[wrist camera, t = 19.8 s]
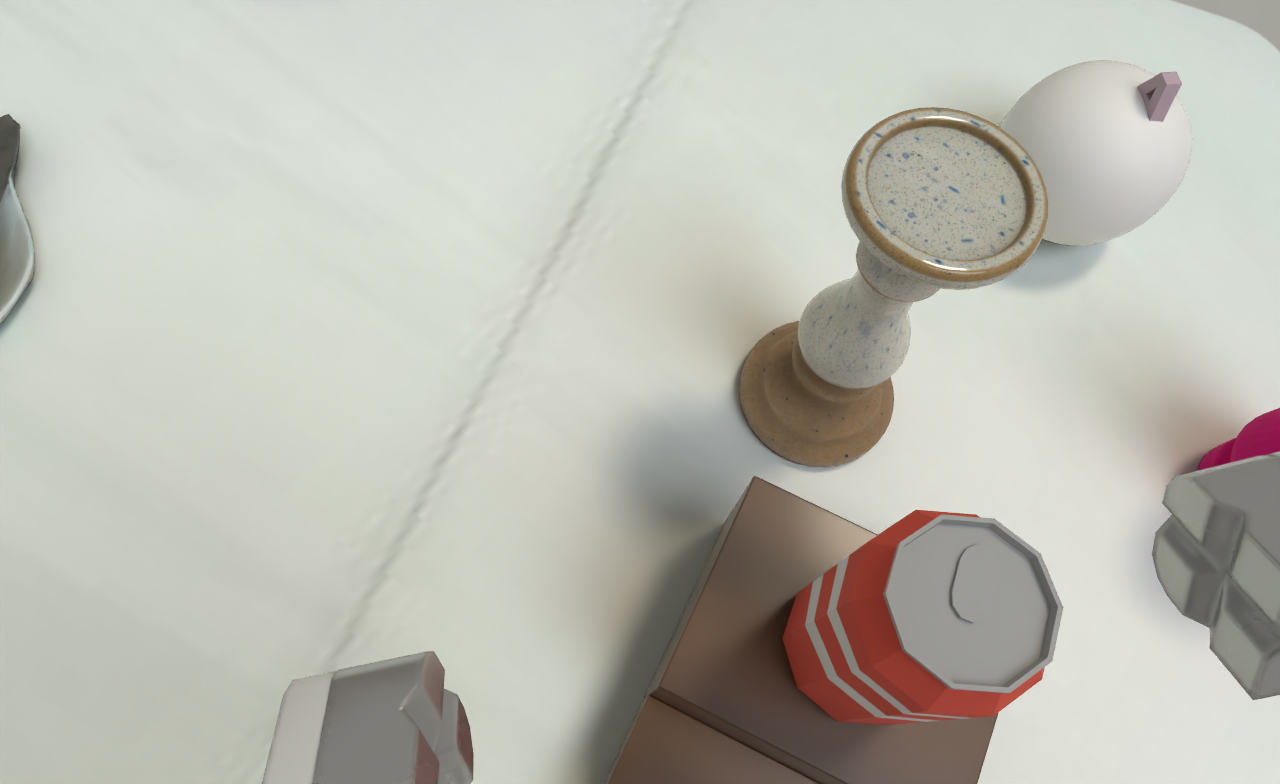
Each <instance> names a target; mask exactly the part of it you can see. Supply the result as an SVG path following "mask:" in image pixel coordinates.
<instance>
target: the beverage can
mask: <svg viewBox="0 0 1280 784" xmlns="http://www.w3.org/2000/svg"><path fill="white" fill-rule="evenodd" d="M1062 610H1063V606H1062V604H1061V601H1060V599H1059V596H1058V594H1057V592H1056V589H1055V587H1054V585H1053V582H1052V580H1051V577H1050V575H1049V573H1048V570H1047V568H1046V565H1045V563H1044V561H1043V558H1042V556H1041V554H1040V553H1039V552H1038V551H1036V550H1035V549H1034V548H1032V547H1031V546H1030V545H1029V544H1027V543H1026V542H1025V541H1023V540H1022V539H1021V538H1019V537H1018V536H1017V535H1015V534H1014V533H1013V532H1011V531H1010V530H1009V529H1007V528H1006V527H1005V526H1003V525H1002V524H1001V523H999V522H998V521H997V520H995V519H991V518H980V517H979V516H977V515H972V514H960V513H948V512H936V511H924V510H915V511H913V512H912V513H910V514H909V515H907V516H906V517H904V518H903V519H901V520H900V521H898V522H897V523H895V524H894V525H892V526H891V527H889V528H888V529H886V530H885V531H883V532H882V533H880V534H879V535H877V536H876V537H874V538H873V539H871V540H870V541H868V542H867V543H865V544H864V545H862V546H861V547H860V548H858V549H857V550H856V551H854V552H853V553H851V554H850V555H849V556H847V557H846V558H845V559H843V560H842V561H840V562H839V563H838V564H836V565H835V566H834V567H832V568H831V569H829V570H828V571H827V572H825V573H824V574H823V575H821V576H820V577H818V578H817V579H816V580H814V581H813V582H812V583H810V584H809V585H807V586H806V587H805V588H803V589H802V590H801V591H799V592H798V593H797V595H796V598H795V601H794V604H793V607H792V610H791V614H790V617H789V620H788V623H787V626H786V629H785V632H784V635H783V642H784V645H785V648H786V652H787V655H788V658H789V662H790V665H791V668H792V672H793V675H794V678H795V682H796V685H797V688H798V689H799V690H801V691H802V692H803V693H804V694H805V695H807V696H808V697H809V698H810V699H811V700H812V701H814V702H815V703H816V704H817V705H818V706H820V707H821V708H822V709H823V710H824V711H825V712H827V713H828V714H829V715H830V716H831V717H833V718H834V719H835V720H836V721H837V722H850V723H864V724H877V725H895V724H907V723H919V722H931V721H943V720H955V719H966V718H978V717H990V716H994V715H995V714H997V713H998V712H999V711H1001V710H1002V709H1003V708H1005V707H1006V706H1007V705H1008V704H1010V703H1011V702H1012V701H1014V700H1015V699H1016V698H1018V697H1019V696H1020V695H1022V694H1023V693H1024V692H1026V691H1027V690H1028V689H1030V688H1031V687H1032V686H1033V685H1035V684H1036V683H1037V682H1039V681H1040V680H1041V679H1042V676H1043V672H1044V667H1045V666H1046V665H1048V664H1049V663H1050V662H1052V660H1053V655H1054V650H1055V645H1056V640H1057V635H1058V630H1059V625H1060V620H1061V615H1062Z"/></svg>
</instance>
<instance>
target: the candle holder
mask: <svg viewBox="0 0 1280 784" xmlns="http://www.w3.org/2000/svg"><path fill="white" fill-rule="evenodd" d="M841 187H842V202H843V206H844V210H845V214H846V217H847V219H848V221H849V223H850V226H851V228H852V230H853V231H854V233H855V234H856V236H857V238H858V239H859V241H860V242H859V244H858V247H857V253H856V260H857V265H858V271H857V272H856V273H855V275H854V276H853V277H852V278H851V279H847V280H843V281H840V282H837V283H835V284H833V285H831V286H829V287H827V288H825V289H824V290H822V291H821V292H819V293H818V294H817V295H816V296H815V297H814V298H813V299H812V300H811V301H810V302H809V303H808V305H807V306H806V308H805V310H804V311H803V314H802V316H801V319H800V321H798V322H793V323H789V324H786V325H783V326H781V327H778V328H776V329H774V330H773V331H771V332H770V333H768V334H767V335H765V336H764V337H763V338H762V339H761V340H760V341H759V342H758V343H757V344H756V345H755V346H754V348H753V349H752V350H751V352H750V354H749V356H748V357H747V359H746V361H745V364H744V367H743V370H742V373H741V379H740V400H741V405H742V409H743V412H744V414H745V417H746V419H747V421H748V423H749V425H750V427H751V428H752V430H753V431H754V432H755V434H756V435H757V436H758V438H759V439H760V440H761V441H762V442H763V443H764V444H765V445H766V446H767V447H769V448H770V449H771V450H773V451H774V452H776V453H777V454H779V455H781V456H782V457H784V458H786V459H788V460H791V461H794V462H796V463H799V464H803V465H808V466H817V467H828V466H837V465H840V464H844V463H848V462H850V461H852V460H854V459H857V458H859V457H860V456H862V455H863V454H865V453H866V452H867V451H869V450H870V449H871V448H872V447H873V446H874V445H875V444H876V443H877V442H878V441H879V440H880V438H881V437H882V435H883V434H884V433H885V431H886V429H887V427H888V425H889V422H890V419H891V416H892V412H893V405H894V393H893V386H892V382H891V378H890V377H891V376H892V375H893V374H894V373H895V372H896V371H897V370H898V369H899V367H900V366H901V364H902V363H903V361H904V359H905V357H906V355H907V352H908V349H909V345H910V334H911V327H910V319H909V315H908V311H909V309H910V307H911V305H912V304H913V302H916V301H920V300H924V299H926V298H929V297H930V296H932V295H933V294H935V293H936V292H937V291H938V290H939V289H940V288H942V289H955V290H962V289H975V288H979V287H983V286H987V285H991V284H993V283H995V282H998V281H1000V280H1003V279H1005V278H1007V277H1008V276H1010V275H1012V274H1013V273H1015V272H1016V271H1018V270H1019V269H1020V268H1021V267H1022V266H1023V265H1024V264H1025V263H1026V262H1027V261H1028V260H1029V259H1030V258H1031V257H1032V255H1033V254H1034V252H1035V251H1036V250H1037V248H1038V247H1039V244H1040V242H1041V240H1042V238H1043V235H1044V233H1045V230H1046V225H1047V220H1048V197H1047V191H1046V187H1045V184H1044V181H1043V178H1042V175H1041V173H1040V171H1039V169H1038V168H1037V166H1036V164H1035V162H1034V161H1033V159H1032V158H1031V157H1030V155H1029V154H1028V153H1027V151H1026V150H1025V149H1024V148H1023V147H1022V146H1021V145H1020V144H1019V143H1018V142H1017V141H1016V140H1015V139H1014V138H1013V137H1011V136H1010V135H1009V134H1008V133H1006V132H1005V131H1004V130H1002V129H1001V128H999V127H997V126H996V125H994V124H992V123H991V122H989V121H986V120H984V119H982V118H980V117H978V116H975V115H972V114H969V113H966V112H963V111H958V110H953V109H948V108H934V107H932V108H918V109H913V110H908V111H903V112H900V113H898V114H895V115H892V116H890V117H888V118H886V119H884V120H882V121H881V122H879V123H877V124H876V125H874V126H873V127H872V128H871V129H869V130H868V131H867V132H866V133H865V134H864V135H863V136H862V137H861V139H860V140H859V141H858V142H857V143H856V144H855V146H854V148H853V149H852V151H851V153H850V155H849V157H848V159H847V162H846V165H845V167H844V170H843V176H842V184H841Z"/></svg>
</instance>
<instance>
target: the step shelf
mask: <svg viewBox="0 0 1280 784" xmlns="http://www.w3.org/2000/svg"><path fill="white" fill-rule="evenodd" d="M876 536H877V534H875V533H873V532H871V531H869V530H867V529H865V528H862V527H860V526H858V525H856V524H854V523H852V522H850V521H848V520H846V519H844V518H842V517H840V516H837V515H835V514H833V513H831V512H829V511H827V510H825V509H823V508H821V507H819V506H817V505H815V504H812V503H810V502H808V501H806V500H804V499H802V498H800V497H798V496H796V495H794V494H792V493H790V492H787V491H785V490H783V489H781V488H779V487H777V486H775V485H773V484H771V483H769V482H767V481H764V480H762V479H760V478H758V477H756V476H754V477H753V478H752V480H751V482H750V483H749V485H748V486H747V488H746V490H745V491H744V493H743V494H742V496H741V498H740V499H739V501H738V502H737V504H736V505H735V507H734V509H733V510H732V512H731V513H730V515H729V517H728V518H727V520H726V521H725V523H724V525H723V527H722V529H721V531H720V533H719V536H718V538H717V540H716V542H715V544H714V546H713V549H712V551H711V553H710V555H709V557H708V560H707V562H706V564H705V566H704V568H703V570H702V573H701V575H700V577H699V579H698V581H697V583H696V586H695V588H694V590H693V592H692V594H691V597H690V599H689V601H688V603H687V605H686V607H685V610H684V612H683V614H682V616H681V618H680V620H679V623H678V625H677V627H676V629H675V631H674V634H673V636H672V638H671V640H670V642H669V644H668V647H667V649H666V651H665V653H664V655H663V657H662V660H661V662H660V664H659V666H658V668H657V671H656V673H655V675H654V677H653V679H652V681H651V684H650V686H649V688H648V690H647V692H646V695H645V697H644V700H643V701H642V703H641V705H640V708H639V710H638V712H637V714H636V716H635V718H634V721H633V723H632V725H631V727H630V729H629V732H628V734H627V736H626V738H625V740H624V742H623V745H622V747H621V749H620V751H619V753H618V755H617V758H616V760H615V762H614V764H613V766H612V769H611V771H610V773H609V775H608V777H607V779H606V782H605V784H977V782H978V779H979V775H980V772H981V769H982V765H983V762H984V759H985V755H986V752H987V749H988V745H989V742H990V739H991V736H992V732H993V729H994V726H995V722H996V719H997V716H998V713H997V714H995V715H994V716H990V717H978V718H966V719H955V720H943V721H931V722H919V723H907V724H895V725H877V724H864V723H850V722H837V721H836V720H835V719H834V718H833V717H831V716H830V715H829V714H828V713H827V712H825V711H824V710H823V709H822V708H821V707H820V706H818V705H817V704H816V703H815V702H814V701H812V700H811V699H810V698H809V697H808V696H807V695H805V694H804V693H803V692H802V691H801V690H799V689H798V688H797V685H796V682H795V678H794V675H793V672H792V668H791V665H790V662H789V658H788V655H787V652H786V648H785V645H784V642H783V635H784V632H785V629H786V626H787V623H788V620H789V617H790V614H791V610H792V607H793V604H794V601H795V598H796V595H797V593H798V592H799V591H801V590H802V589H803V588H805V587H806V586H807V585H809V584H810V583H812V582H813V581H814V580H816V579H817V578H818V577H820V576H821V575H823V574H824V573H825V572H827V571H828V570H829V569H831V568H832V567H834V566H835V565H836V564H838V563H839V562H840V561H842V560H843V559H845V558H846V557H847V556H849V555H850V554H851V553H853V552H854V551H856V550H857V549H858V548H860V547H861V546H862V545H864V544H865V543H867V542H868V541H870V540H871V539H873V538H874V537H876Z"/></svg>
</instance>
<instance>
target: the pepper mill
mask: <svg viewBox="0 0 1280 784" xmlns="http://www.w3.org/2000/svg"><path fill="white" fill-rule="evenodd" d="M1276 452H1280V408H1278V409H1276V410H1273V411H1270V412H1268V413H1265V414H1263V415H1261V416H1258V417H1256V418H1255V419H1254V420H1252V421H1251V422H1250V423H1248V424H1247V425H1246V426H1245V427H1244V428H1243V429H1242V431H1241V432H1240V433H1239V435H1238V436H1237V438H1235V439H1232V440H1230V441H1228V442H1226V443H1224V444H1222V445H1219V446H1217V447H1216V448H1214V449H1212V450H1211V451H1210V452H1209V453H1207V454H1206V455H1205V456H1204V458H1203V459H1202V461H1201V463H1200V464H1199V467H1198V470H1197V471H1199V470H1203V469H1207V468H1211V467H1215V466H1219V465H1223V464H1227V463H1231V462H1236V461H1240V460H1244V459H1248V458H1252V457H1256V456H1260V455H1262V456H1266V455H1268V454H1271V453H1276Z"/></svg>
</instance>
